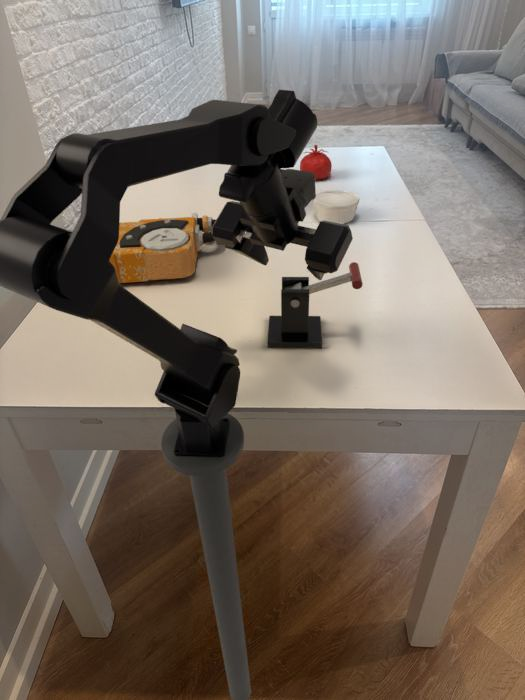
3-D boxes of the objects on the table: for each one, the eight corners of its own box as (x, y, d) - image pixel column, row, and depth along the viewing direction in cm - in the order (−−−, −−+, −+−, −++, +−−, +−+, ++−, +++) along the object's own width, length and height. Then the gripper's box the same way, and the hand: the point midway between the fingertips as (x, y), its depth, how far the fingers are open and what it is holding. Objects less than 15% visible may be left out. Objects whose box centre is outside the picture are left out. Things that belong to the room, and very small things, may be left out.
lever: (360, 271, 80) (356, 258, 78) (364, 289, 75) (360, 276, 73) (289, 293, 83) (284, 281, 81) (289, 312, 78) (284, 300, 77)
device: (91, 209, 111) (223, 202, 112) (100, 243, 116) (226, 236, 117) (65, 253, 93) (223, 245, 94) (77, 291, 98) (226, 283, 99)
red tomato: (310, 184, 144) (311, 152, 139) (293, 175, 152) (293, 144, 146) (338, 178, 148) (340, 146, 142) (320, 170, 155) (321, 139, 149)
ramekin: (354, 209, 128) (356, 189, 125) (360, 226, 119) (362, 205, 116) (311, 210, 129) (312, 190, 126) (314, 227, 120) (314, 206, 117)
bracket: (320, 321, 87) (322, 272, 81) (321, 348, 81) (324, 297, 75) (269, 321, 88) (268, 272, 82) (267, 348, 81) (265, 297, 75)
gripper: (362, 157, 57) (373, 239, 71) (230, 138, 65) (263, 215, 78) (324, 233, 54) (343, 303, 68) (190, 203, 62) (231, 272, 75)
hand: (293, 269), depth 72 cm, fingers open, 9 cm apart
